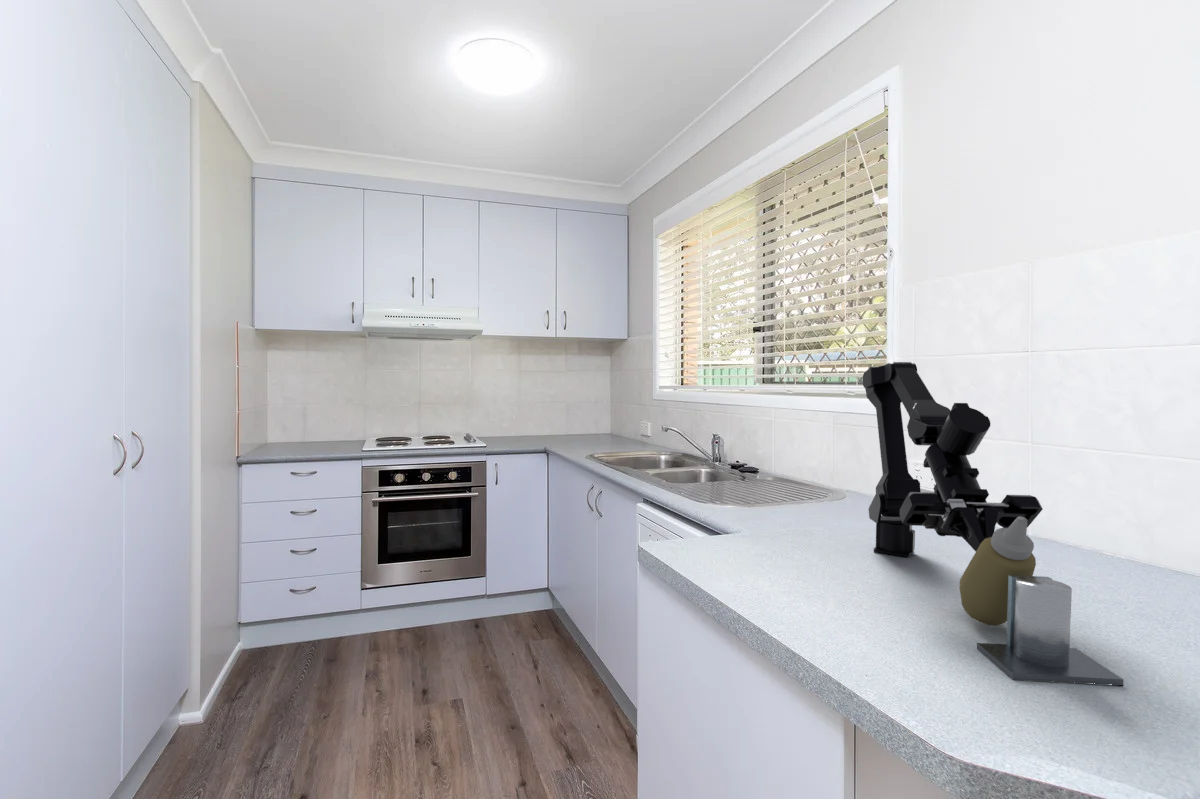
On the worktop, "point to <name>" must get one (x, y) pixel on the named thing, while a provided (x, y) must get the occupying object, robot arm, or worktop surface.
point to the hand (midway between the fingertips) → (988, 559)
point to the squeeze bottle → (996, 572)
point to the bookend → (1043, 636)
